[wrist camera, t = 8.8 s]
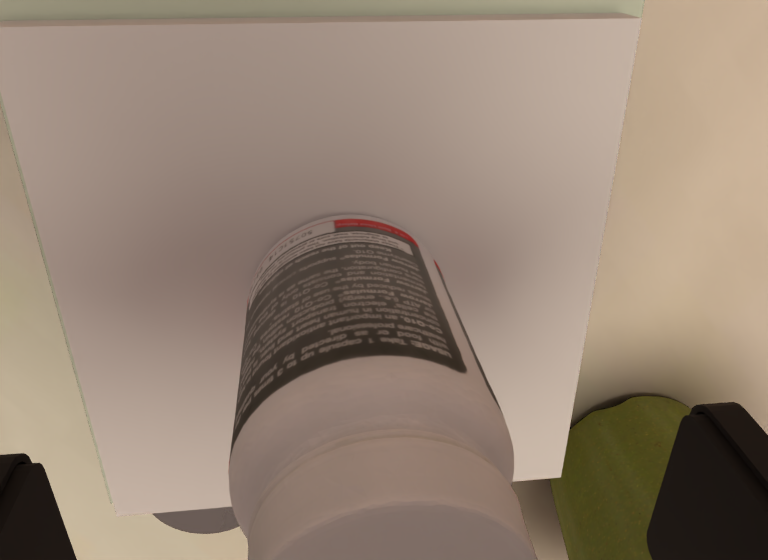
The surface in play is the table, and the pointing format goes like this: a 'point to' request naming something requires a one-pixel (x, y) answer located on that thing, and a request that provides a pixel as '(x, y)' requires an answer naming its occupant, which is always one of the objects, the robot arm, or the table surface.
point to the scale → (307, 192)
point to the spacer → (200, 520)
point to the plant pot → (615, 477)
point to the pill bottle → (366, 409)
